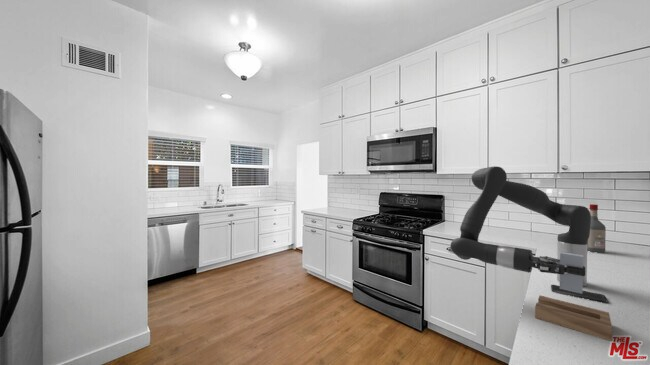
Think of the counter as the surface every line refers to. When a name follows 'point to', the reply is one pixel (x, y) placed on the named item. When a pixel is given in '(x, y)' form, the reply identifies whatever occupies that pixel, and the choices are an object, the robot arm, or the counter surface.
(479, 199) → the robot arm
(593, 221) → the liquor
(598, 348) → the counter surface
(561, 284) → the domino
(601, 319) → the rack
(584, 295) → the phone
